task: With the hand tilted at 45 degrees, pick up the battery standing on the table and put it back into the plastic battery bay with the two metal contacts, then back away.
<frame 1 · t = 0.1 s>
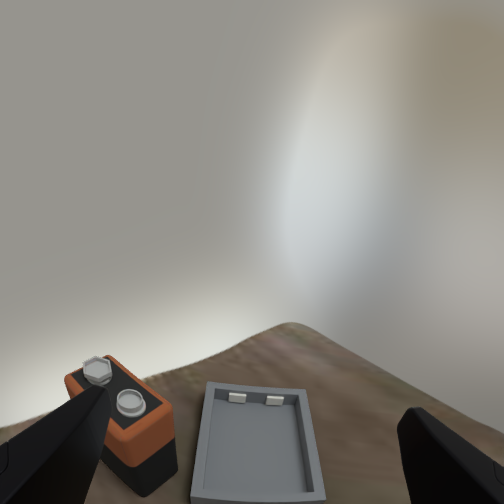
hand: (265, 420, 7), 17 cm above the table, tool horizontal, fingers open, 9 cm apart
battery bay: (254, 450, 22), on the table
battery: (133, 461, 19), on the table
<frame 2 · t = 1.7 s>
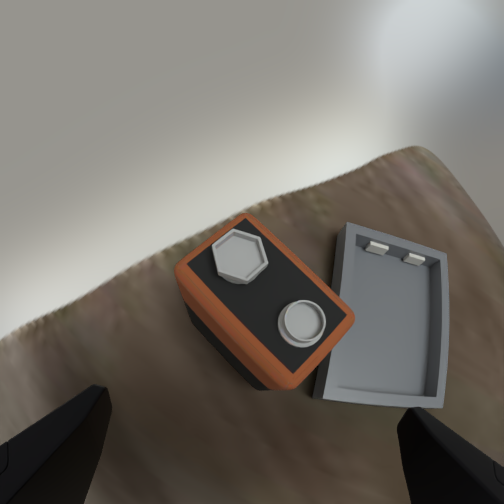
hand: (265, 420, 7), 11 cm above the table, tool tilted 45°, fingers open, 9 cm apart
battery bay: (385, 323, 21), on the table
battery: (246, 335, 20), on the table
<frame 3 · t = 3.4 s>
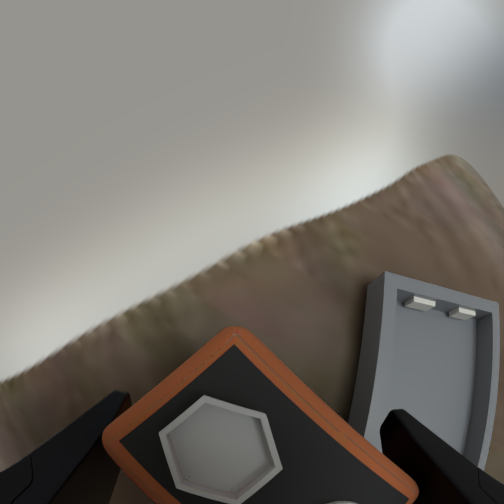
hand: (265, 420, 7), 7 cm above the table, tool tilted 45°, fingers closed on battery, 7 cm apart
battery bay: (423, 400, 14), on the table
battery: (243, 433, 13), on the table, touching gripper
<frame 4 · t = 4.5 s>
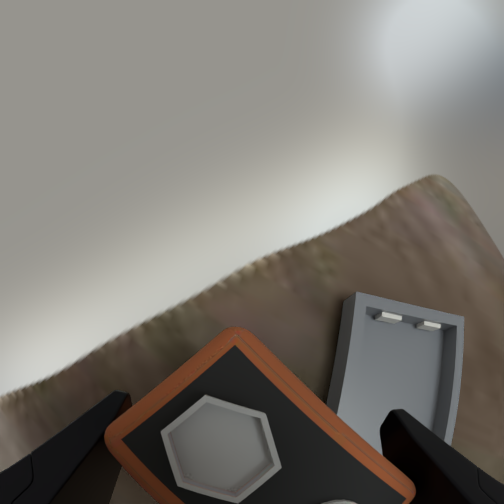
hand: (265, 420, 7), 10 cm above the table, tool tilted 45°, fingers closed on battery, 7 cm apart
battery bay: (390, 398, 18), on the table
battery: (242, 432, 13), point 3 cm above the table, touching gripper
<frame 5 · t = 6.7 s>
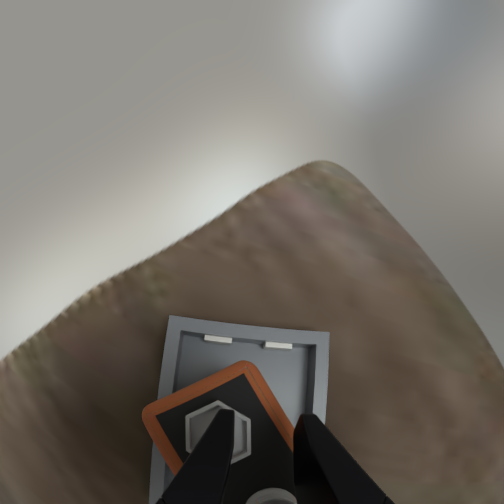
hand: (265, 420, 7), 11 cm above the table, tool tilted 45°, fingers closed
battery bay: (238, 427, 17), on the table
battery: (233, 431, 16), resting on battery bay
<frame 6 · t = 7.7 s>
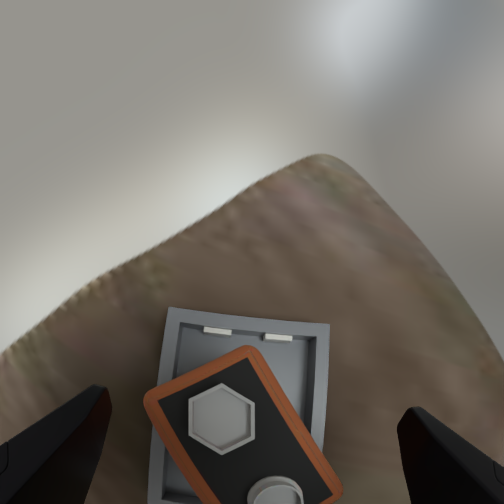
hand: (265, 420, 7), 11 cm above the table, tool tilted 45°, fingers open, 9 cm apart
battery bay: (238, 420, 17), on the table
battery: (233, 424, 16), resting on battery bay
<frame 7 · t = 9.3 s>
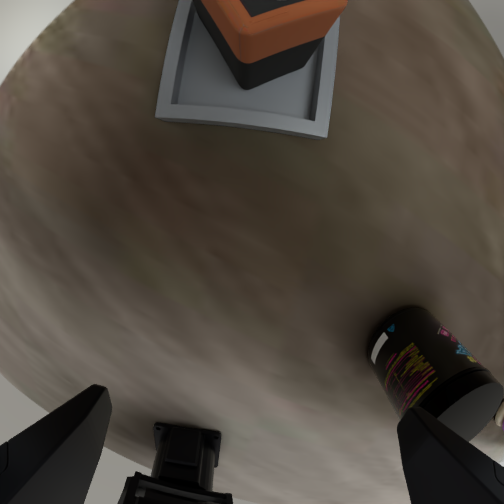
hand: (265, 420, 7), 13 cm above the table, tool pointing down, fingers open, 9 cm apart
battery bay: (254, 37, 16), on the table
supplement container: (400, 338, 23), on the table
battery: (250, 38, 15), resting on battery bay
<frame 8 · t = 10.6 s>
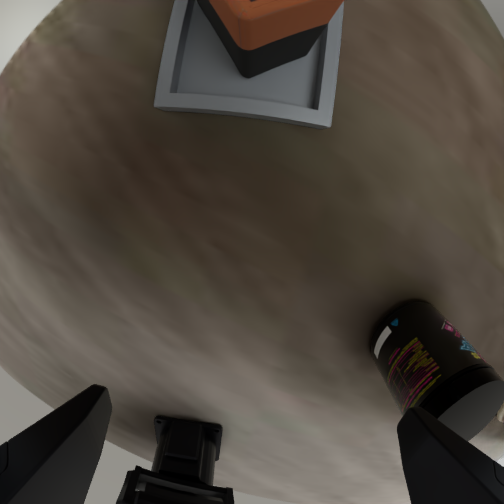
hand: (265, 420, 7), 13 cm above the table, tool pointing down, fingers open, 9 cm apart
battery bay: (256, 25, 15), on the table
supplement container: (403, 332, 22), on the table
battery: (251, 25, 14), resting on battery bay
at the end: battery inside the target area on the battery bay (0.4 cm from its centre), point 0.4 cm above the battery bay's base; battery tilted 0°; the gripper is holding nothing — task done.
